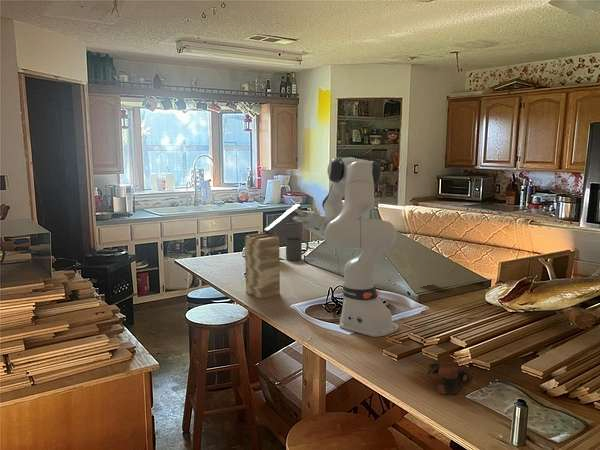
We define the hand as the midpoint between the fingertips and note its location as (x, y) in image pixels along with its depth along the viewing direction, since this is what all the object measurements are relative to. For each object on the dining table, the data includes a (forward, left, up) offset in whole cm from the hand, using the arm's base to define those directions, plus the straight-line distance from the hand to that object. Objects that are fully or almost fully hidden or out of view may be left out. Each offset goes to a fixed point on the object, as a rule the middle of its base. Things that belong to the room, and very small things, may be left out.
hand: (292, 209), depth 221 cm
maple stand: (0, +17, -37) cm, 40 cm away
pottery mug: (-102, +27, -37) cm, 112 cm away
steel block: (0, +4, -6) cm, 7 cm away
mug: (+41, -37, -37) cm, 66 cm away
